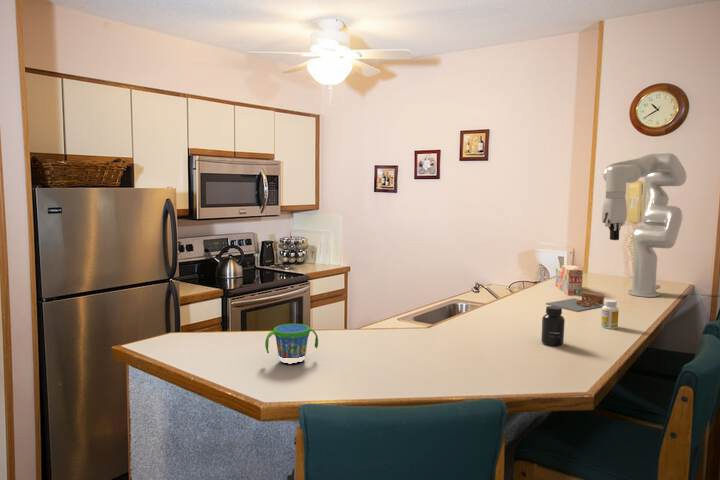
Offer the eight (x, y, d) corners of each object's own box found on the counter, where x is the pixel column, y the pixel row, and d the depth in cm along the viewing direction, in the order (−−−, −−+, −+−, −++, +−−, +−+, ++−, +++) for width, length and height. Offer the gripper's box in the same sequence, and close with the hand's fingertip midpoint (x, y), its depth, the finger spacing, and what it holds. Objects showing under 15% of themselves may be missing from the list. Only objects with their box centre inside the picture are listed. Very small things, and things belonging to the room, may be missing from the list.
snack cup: (315, 353, 166) (315, 321, 165) (321, 365, 156) (320, 330, 154) (264, 357, 162) (263, 325, 161) (266, 369, 152) (265, 334, 151)
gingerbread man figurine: (604, 295, 227) (594, 303, 219) (603, 304, 228) (594, 312, 219) (582, 291, 233) (572, 299, 224) (582, 299, 234) (572, 308, 225)
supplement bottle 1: (553, 348, 169) (554, 310, 168) (536, 342, 176) (537, 306, 174) (568, 344, 173) (569, 308, 171) (551, 339, 179) (553, 304, 177)
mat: (573, 299, 238) (574, 298, 238) (605, 306, 224) (606, 305, 224) (545, 304, 229) (545, 303, 229) (577, 311, 215) (577, 310, 215)
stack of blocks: (555, 286, 267) (556, 262, 266) (568, 286, 267) (569, 262, 265) (567, 295, 246) (568, 269, 245) (582, 295, 245) (583, 269, 244)
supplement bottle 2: (617, 326, 194) (618, 299, 193) (617, 329, 189) (619, 302, 188) (601, 324, 196) (602, 298, 195) (601, 328, 191) (602, 301, 190)
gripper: (619, 194, 228) (618, 237, 231) (595, 196, 221) (594, 240, 224) (635, 195, 222) (634, 239, 224) (611, 197, 215) (610, 242, 217)
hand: (614, 239), depth 224 cm, fingers closed
